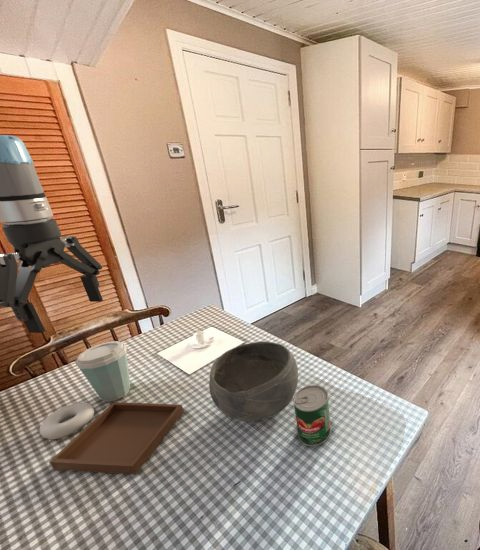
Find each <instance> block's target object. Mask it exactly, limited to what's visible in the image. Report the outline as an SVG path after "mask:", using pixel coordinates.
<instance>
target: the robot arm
mask: <svg viewBox="0 0 480 550" xmlns="http://www.w3.org/2000/svg"><path fill="white" fill-rule="evenodd" d="M53 216H54V213H53V209H52V208H51V205H50V203H49V199H48V198H47V196H46V193H45V190H44V188H43V186H42V183H41V180H40V177H39V175H38V173H37V170H36V167H35V164H34V159H33V158H32V157H31V155H30V152H29V150H28V149H27V147H26V144H25V143H24V142H23V140H22V138H19V137H18V136H15V135H8V134H0V223H1V224H3V225H2V226H1V230H2V231H3V234H4V235H5V237H6V240H7V242H8V243H9V244H10V245H11V246H12V247H13V252H8V253H0V308H11V310H12V312H13V314H14V315H15V318H16V320H18V321H20V322H23V323H24V325H25V327H26V330H27V331H28V333H29V334H43V333H44V332H46V329H45V327H44V325H43V323H42V321H41V319H40V316H39V315H38V312H37V310H36V308H35V305H34V304H33V302H27V301H28V299H29V297H30V293H31V291H32V288H33V286H34V283H35V280H36V279H37V275H38V274H39V273H40V272H41V271H42V268H43V269H44V268H48V267H50V266H52V265H57V264H63V265H65V266H67V267H68V268H70V269H73V270H74V271H76V272H77V273H80V274H82V275H81V276H80V277H79V278H80V280H81V283H82V286H83V288H84V290H85V293H86V296H87V297H88V300H89V302H90V303H101V302H103V301H104V299H103V296H102V294H101V291H100V288H99V287H100V283H99V280H98V278H97V277H98V276H99V275H100V270H102V269H103V265H101V263H100V262H99V261H98V260H96V259H95V257H94V256H93V255H92V254H90V252H89V251H87V250H86V248H85V247H83V246H82V245H81V243H80V241H79V239H78V238H77V236H75V235H73V236H72V235H68V236H67V235H64V236H62V232H61V229H60V227H59V225H58V222H57V220H55V219H54V218H53ZM61 236H62V237H61ZM65 248H66V249H67V251H69V252H70V253H71V254H70V253H67V252H66V251H64V250H65ZM73 256H74V257H75V258H74V257H73ZM18 264H19V265H18Z"/></svg>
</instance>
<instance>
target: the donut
mask: <svg viewBox="0 0 480 550" xmlns="http://www.w3.org/2000/svg"><path fill="white" fill-rule="evenodd" d="M94 414H95V407H94V406H93V405H92V404H91V403H89V402H74V403H70V404H67V405H65V406H62V407H60V408H59V409H56V410H55V411H54V412H52V413H50V414H49V415H48V416H47V417H45V418H44V419H43V421H42V423H41V424H40V426H39V431H38V432H39V434H40V435H41V437H42V438H44V439H48V440H56V439H63V438H65V437H68V436H71V435H72V434H75V433H77V432H79V431H80V430H81V429H83V428H84V427H85V426H86V425H88V423H90V421H91V420H92V418H93V416H94Z"/></svg>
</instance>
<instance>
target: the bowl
mask: <svg viewBox="0 0 480 550" xmlns="http://www.w3.org/2000/svg"><path fill="white" fill-rule="evenodd" d="M208 382H209V383H208V388H209V389H208V390H209V395H210V398H211V400H212V402H213V403H214V405H215V407H216V408H217V409H218V410H219V411H220V412H221V413H223V414H224V415H225V416H227V417H230V418H231V419H234V420H237V421H241V422H260V421H265V420H268V419H270V418H273V417H274V416H276V415H278V414H280V413H281V412H282V411H284V409H286V407H288V405H289V404H290V403H291V402H292V399H294V396H295V394H296V391H297V388H298V383H299V367H298V364H297V361H296V359H295V357H294V354H293V353H292V351H290V349H288V347H287V346H285V345H283V344H281V343H277V342H271V341H263V340H262V341H255V342H248V343H244V344H240V345H239V346H237V347H235V348H233V349H230V350H228V351H226V352H225V353H224V354H222V355H221V356H220V357H218V358H216V359H215V360H214V361H213V364H212V366H211V368H210V371H209V381H208Z"/></svg>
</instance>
